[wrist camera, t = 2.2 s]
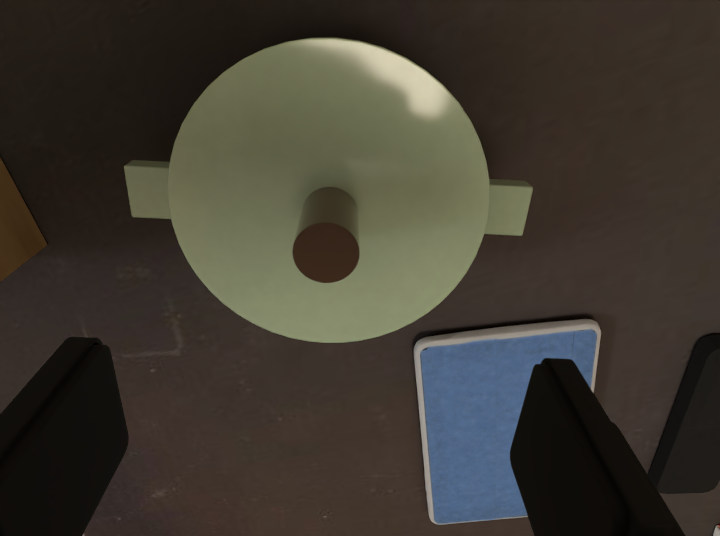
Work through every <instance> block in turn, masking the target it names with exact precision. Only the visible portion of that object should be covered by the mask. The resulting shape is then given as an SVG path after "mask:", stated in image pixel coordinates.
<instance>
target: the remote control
mask: <svg viewBox="0 0 720 536" xmlns="http://www.w3.org/2000/svg"><path fill="white" fill-rule="evenodd" d="M648 476H649V478H650V480H651V481H652V483H653V484H654V486H655V488H656V489H657V490H658V491H659V492H660V493H665V494H677V493H704V492H709V491H711V490H713V489H714V488H715V487H716V486H717V484H718V482H719V480H720V335H710V336H706V337H704V338H703V339H701V340H700V341H699V342H698V344H697V345H696V347H695V350H694V352H693V355H692V358H691V360H690V363H689V366H688V369H687V371H686V374H685V377H684V379H683V382H682V385H681V388H680V390H679V393H678V396H677V399H676V401H675V404H674V407H673V409H672V412H671V415H670V418H669V420H668V423H667V426H666V428H665V431H664V434H663V437H662V439H661V442H660V445H659V447H658V450H657V453H656V456H655V458H654V461H653V464H652V466H651V469H650V472H649V475H648Z"/></svg>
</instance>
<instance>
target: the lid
mask: <svg viewBox="0 0 720 536" xmlns="http://www.w3.org/2000/svg"><path fill="white" fill-rule="evenodd" d="M167 186H168V204H169V210H170V215H171V220H172V225H173V228H174V231H175V234H176V237H177V239H178V242H179V245H180V247H181V249H182V251H183V253H184V255H185V257H186V259H187V261H188V262H189V264H190V265H191V267H192V269H193V270H194V272H195V273H196V275H197V276H198V277H199V279H200V280H201V281H202V282H203V283H204V285H205V286H206V287H207V288H208V289H209V290H210V292H212V293H213V294H214V295H215V296H216V297H217V298H218V299H219V300H220V301H221V302H222V303H223V304H224V305H226V306H227V307H229V308H230V309H231V310H233V311H234V312H235V313H237V314H238V315H239V316H241V317H243V318H245V319H246V320H248V321H250V322H252V323H253V324H255V325H257V326H260V327H262V328H264V329H266V330H269V331H271V332H274V333H277V334H280V335H283V336H286V337H290V338H294V339H299V340H304V341H311V342H322V343H344V342H352V341H361V340H365V339H370V338H374V337H378V336H382V335H384V334H387V333H390V332H393V331H396V330H398V329H400V328H402V327H404V326H406V325H408V324H410V323H412V322H414V321H416V320H417V319H419V318H420V317H422V316H423V315H425V314H427V313H428V312H429V311H431V310H432V309H433V308H434V307H436V306H437V305H438V304H439V303H440V302H442V301H443V300H444V299H445V298H446V297H447V296H448V295H449V294H450V292H451V291H452V290H453V289H454V288H455V287H456V286H457V284H458V283H459V282H460V280H461V279H462V278H463V276H464V275H465V274H466V272H467V271H468V269H469V267H470V265H471V264H472V262H473V260H474V258H475V256H476V254H477V252H478V249H479V247H480V244H481V242H482V239H483V236H484V232H485V228H486V224H487V220H488V212H489V204H490V182H489V175H488V168H487V162H486V158H485V155H484V152H483V148H482V145H481V142H480V139H479V137H478V135H477V133H476V131H475V129H474V126H473V124H472V122H471V120H470V119H469V117H468V116H467V114H466V113H465V111H464V110H463V108H462V107H461V105H460V104H459V102H458V101H457V100H456V99H455V98H454V96H453V95H452V94H451V93H450V92H449V91H448V90H447V89H446V87H445V86H444V85H443V84H442V83H440V82H439V81H438V80H437V79H436V78H434V77H433V76H432V75H431V74H430V73H429V72H427V71H426V70H425V69H424V68H422V67H421V66H419V65H417V64H416V63H414V62H413V61H411V60H409V59H408V58H406V57H405V56H403V55H400V54H398V53H396V52H394V51H391V50H389V49H387V48H385V47H382V46H379V45H375V44H372V43H368V42H365V41H361V40H355V39H348V38H340V37H310V38H304V39H297V40H291V41H287V42H283V43H280V44H277V45H274V46H270V47H267V48H265V49H263V50H261V51H258V52H256V53H254V54H252V55H250V56H248V57H246V58H244V59H242V60H241V61H239V62H238V63H236V64H235V65H233V66H232V67H230V68H229V69H227V70H226V71H224V72H223V73H222V74H221V75H220V76H219V77H218V78H217V79H215V80H214V81H213V82H212V83H211V84H210V85H209V86H208V87H207V88H206V89H205V90H204V92H203V93H202V94H201V95H200V97H199V98H198V99H197V100H196V102H195V103H194V104H193V105H192V107H191V109H190V111H189V112H188V114H187V116H186V118H185V119H184V121H183V123H182V125H181V127H180V130H179V132H178V135H177V137H176V140H175V142H174V146H173V150H172V154H171V158H170V163H169V172H168V184H167Z"/></svg>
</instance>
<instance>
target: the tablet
mask: <svg viewBox="0 0 720 536" xmlns="http://www.w3.org/2000/svg"><path fill="white" fill-rule="evenodd" d="M600 338H601V330H600V327H599V325H598V323H597V322H596V321H594V320H591V319H579V320H567V321H555V322H544V323H533V324H523V325H514V326H505V327H496V328H488V329H480V330H472V331H464V332H457V333H450V334H443V335H436V336H429V337H424V338H422V339H420V340H418V341H417V342H416V344H415V346H414V362H415V373H416V383H417V394H418V405H419V416H420V427H421V438H422V449H423V459H424V470H425V473H424V477H425V487H426V492H427V503H428V514H429V518H430V520H431V521H432V522H433V523H435V524H438V525H440V524H451V523H462V522H473V521H485V520H496V519H506V518H518V517H528V515H527V512H526V509H525V506H524V503H523V500H522V497H521V494H520V491H519V488H518V485H517V482H516V479H515V476H514V473H513V470H512V467H511V463H510V449H511V445H512V442H513V438H514V434H515V431H516V427H517V424H518V420H519V416H520V413H521V409H522V406H523V402H524V398H525V395H526V391H527V388H528V384H529V380H530V377H531V373H532V370H533V367H534V365H535V364H541V362H542V360H543V359H544V358H559V359H571V360H573V361H574V363H575V364H576V366H577V367H578V369H579V371H580V372H581V374H582V375H583V377H584V379H585V380H586V382H587V384H588V385H589V387H590V388H591V390H592V392H593V393H594V387H595V377H596V369H597V361H598V353H599V346H600Z"/></svg>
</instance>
